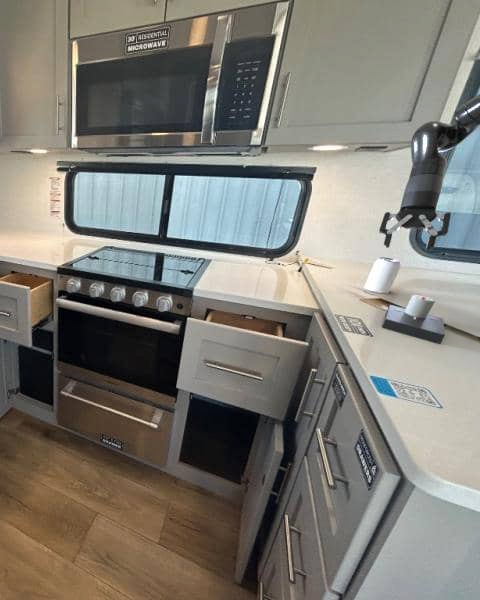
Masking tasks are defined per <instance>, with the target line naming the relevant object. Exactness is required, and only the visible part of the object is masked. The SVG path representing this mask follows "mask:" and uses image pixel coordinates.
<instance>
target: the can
mask: <svg viewBox="0 0 480 600" xmlns="http://www.w3.org/2000/svg"><path fill="white" fill-rule="evenodd" d="M401 263H402V261H401V260H399V259H395V258H390V257H384V256H383V257H382V256H381V257H378V259H376V260H375V262H374V263H373V266H372V269H371V271H370V273H369V275H368V277H367V279H366V282H365V284H364V289H366V290H368V291H370V292H371V291H372V292H374V293H379V294H389V293H390V290H391V289H392V287H393V284H394V283H395V280H396V278H397V276H398V273H399V271H400V269H401ZM364 293H365V294H367V295H369V296H372V294H370V293H368V292H365V291H364Z"/></svg>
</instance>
